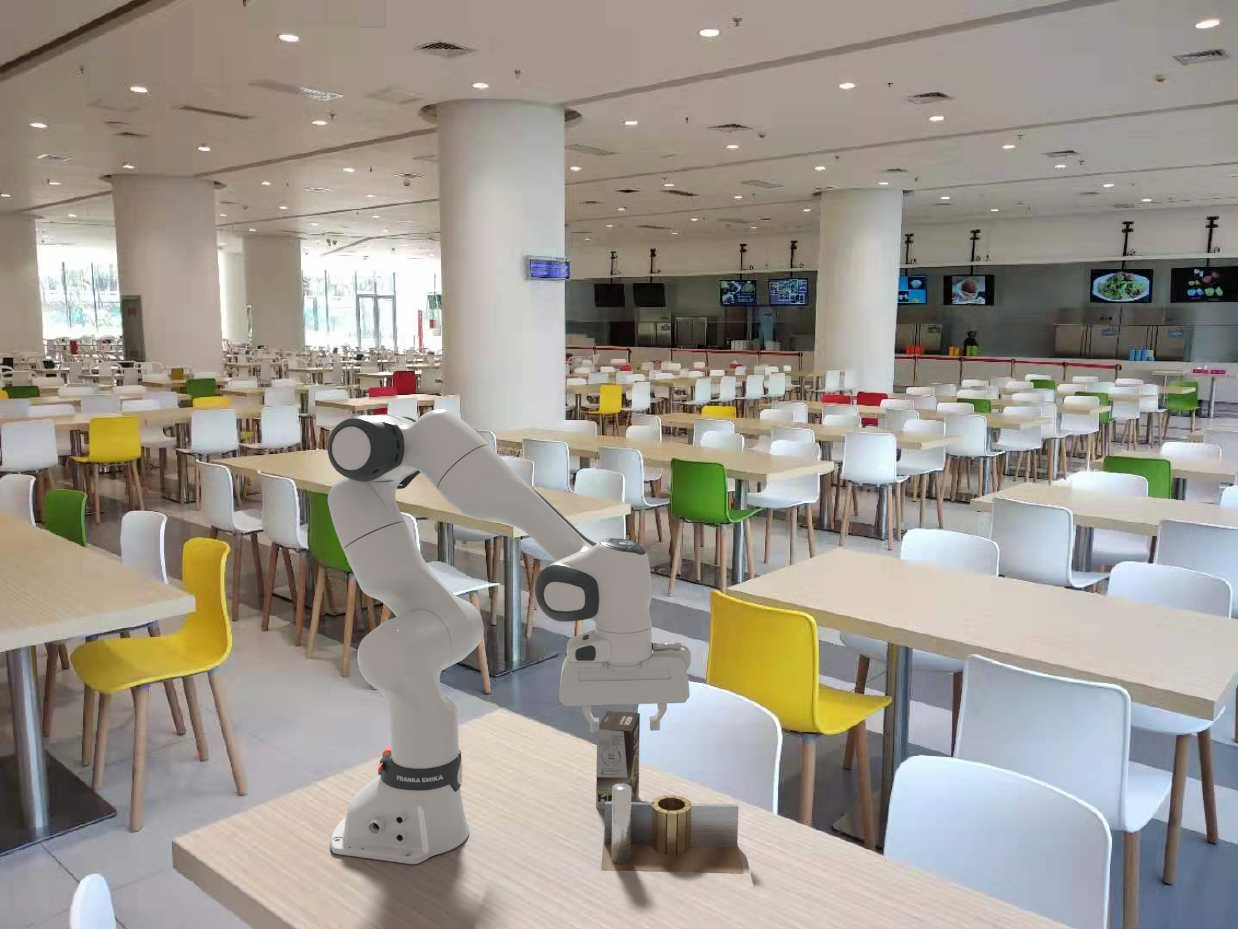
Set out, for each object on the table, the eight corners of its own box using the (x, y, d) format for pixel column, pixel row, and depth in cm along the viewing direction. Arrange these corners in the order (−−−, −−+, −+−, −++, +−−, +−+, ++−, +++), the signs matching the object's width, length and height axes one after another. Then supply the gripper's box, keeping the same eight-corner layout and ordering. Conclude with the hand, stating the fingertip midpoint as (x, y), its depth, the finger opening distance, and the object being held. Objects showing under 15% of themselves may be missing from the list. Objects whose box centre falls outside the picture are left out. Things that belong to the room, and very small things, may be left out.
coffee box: (630, 820, 167) (632, 731, 165) (594, 816, 168) (595, 728, 166) (640, 796, 176) (641, 712, 174) (605, 792, 177) (606, 709, 175)
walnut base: (601, 879, 148) (601, 870, 148) (604, 839, 160) (604, 831, 160) (743, 882, 148) (743, 873, 148) (735, 842, 160) (735, 834, 160)
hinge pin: (611, 865, 150) (612, 792, 148) (611, 854, 153) (612, 783, 151) (630, 865, 150) (631, 792, 148) (630, 855, 152) (631, 783, 151)
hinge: (603, 853, 153) (604, 812, 152) (605, 833, 159) (605, 793, 158) (739, 857, 152) (740, 815, 152) (735, 836, 159) (736, 796, 158)
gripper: (688, 636, 151) (689, 720, 153) (559, 639, 151) (560, 724, 152) (692, 648, 145) (693, 736, 146) (557, 651, 144) (559, 739, 146)
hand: (624, 730), depth 149 cm, fingers open, 8 cm apart
